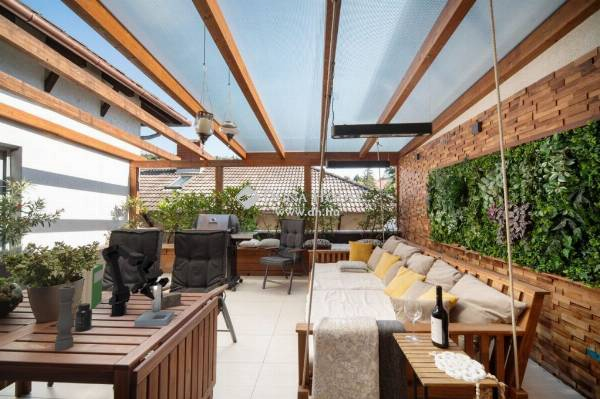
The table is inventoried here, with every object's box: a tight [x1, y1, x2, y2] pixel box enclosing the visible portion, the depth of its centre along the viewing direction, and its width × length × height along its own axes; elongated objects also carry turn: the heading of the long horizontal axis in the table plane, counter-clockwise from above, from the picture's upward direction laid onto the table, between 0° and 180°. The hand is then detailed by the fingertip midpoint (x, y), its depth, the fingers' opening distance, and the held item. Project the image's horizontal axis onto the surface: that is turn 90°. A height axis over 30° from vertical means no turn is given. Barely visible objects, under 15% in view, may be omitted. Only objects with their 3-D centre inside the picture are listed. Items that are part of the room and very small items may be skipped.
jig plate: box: [134, 310, 175, 328], centre depth 158 cm, size 15×15×3 cm
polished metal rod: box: [150, 285, 162, 313], centre depth 153 cm, size 4×4×13 cm
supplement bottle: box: [73, 303, 93, 333], centre depth 146 cm, size 7×7×12 cm
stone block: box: [161, 292, 182, 310], centre depth 183 cm, size 14×9×8 cm, turn 128°
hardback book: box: [79, 263, 104, 310], centre depth 185 cm, size 18×7×24 cm, turn 20°
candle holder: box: [54, 285, 76, 352], centre depth 126 cm, size 6×6×25 cm
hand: (158, 298), depth 153 cm, fingers closed on polished metal rod, 4 cm apart
